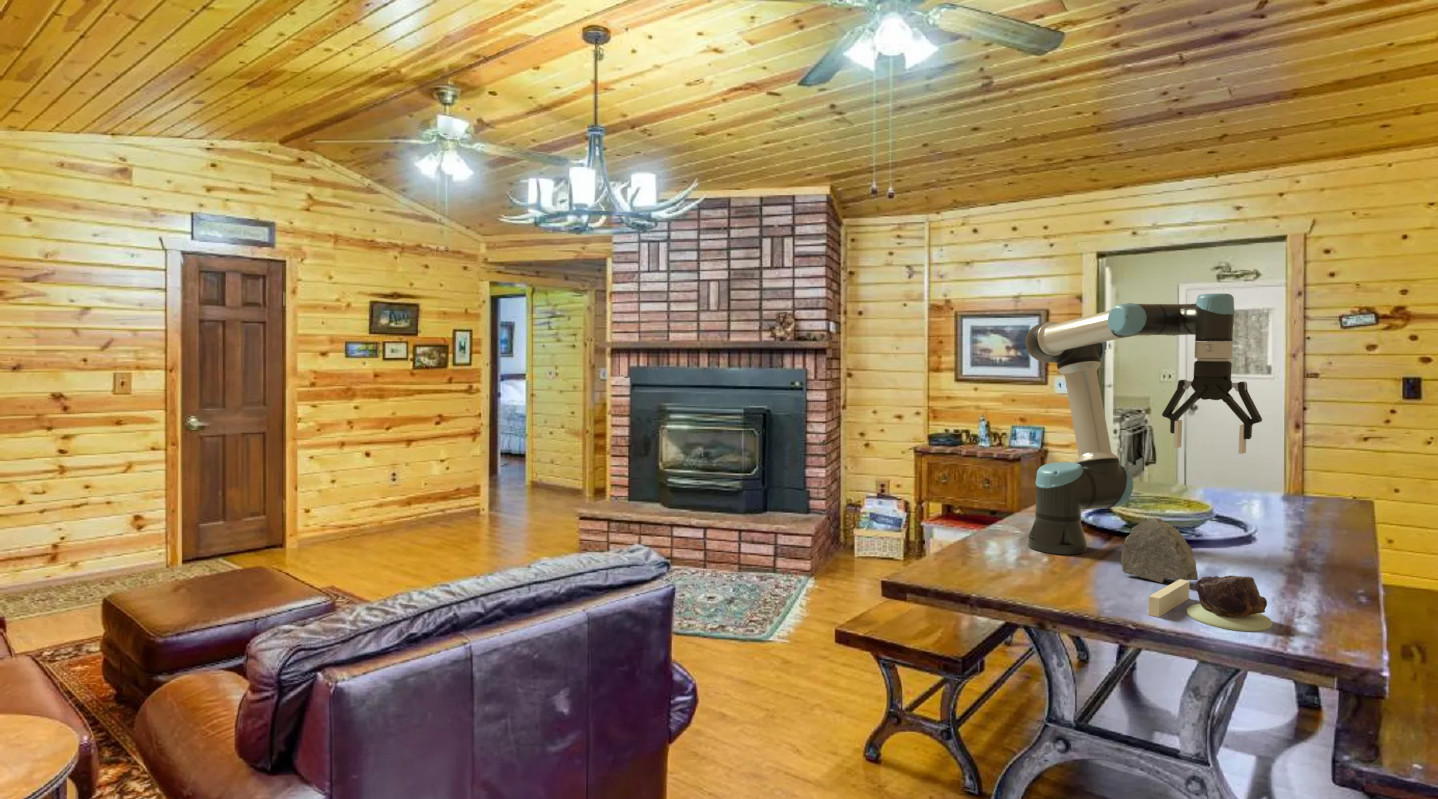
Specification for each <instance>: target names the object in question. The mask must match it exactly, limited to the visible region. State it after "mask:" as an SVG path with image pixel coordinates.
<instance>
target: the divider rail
mask: <svg viewBox="0 0 1438 799" xmlns="http://www.w3.org/2000/svg"><path fill="white" fill-rule="evenodd" d="M1190 582H1191V580H1182V579H1179V580H1177V579H1176V580H1175V581H1174V582H1172V583H1171V584H1168V585H1166V586H1165V587H1163V588H1161V589H1160V590H1158V591H1156V592H1154V593H1152V594H1151V595H1149V596H1148V612H1147V613H1148V616H1151V617H1156V618H1160V617H1161V616H1163V615H1164V614H1166V613H1167V612H1170V611H1172V610H1173V609H1174V608H1176V607H1178V606H1179V605H1181V604H1182V603H1184V602H1186V601H1187V600H1189V599H1190Z"/></svg>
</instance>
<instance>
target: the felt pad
mask: <svg viewBox="0 0 1438 799" xmlns="http://www.w3.org/2000/svg"><path fill="white" fill-rule="evenodd" d="M1186 614H1187V616H1188V617H1190V618H1191V619H1193V620H1195V621H1196V622H1199V623H1201V624H1205V625H1208V626H1211V627H1215V628H1218V629H1224V630H1229V631H1230V630H1231V631H1238V632H1264V631H1267V630H1269V629H1271V628H1272V627H1273V621H1272V619H1271V618H1270V617H1268V616H1266V615H1265V614H1264V613H1257V614H1251V615H1248V616H1246V617H1244V616H1241V617H1226V616H1221V615H1217V614H1216V613H1214V612H1213V611H1212V610H1208V609H1204V608H1203V607H1202V606H1201V604H1200V603H1197V604H1196V603H1195V604H1192V605H1189V606H1188V607H1187V608H1186Z"/></svg>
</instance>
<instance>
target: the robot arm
mask: <svg viewBox="0 0 1438 799" xmlns="http://www.w3.org/2000/svg"><path fill="white" fill-rule="evenodd" d="M1235 313H1236V310H1235V299H1234V296H1233V294H1231V293H1203V294H1199V295H1197V297H1196V302H1195V303H1133V302H1129V303H1120V304H1116V305H1114V306H1113V308H1112V309H1109V310H1105V311H1102V312H1099V313H1098V312H1097V313H1094V314H1090V315H1086V316H1082V317H1078V318H1073V319H1070V320H1066V321H1063V322H1056V321H1047V322H1042V323H1039V324H1036V325H1034V326H1032V328H1030V330H1029V331H1028V332H1027V333H1026V334H1027V335H1026V337H1025V342H1024V343H1025V347H1026V350H1027V353H1028V354H1029V355H1030V357H1032V358H1033V359H1035V360H1037V361H1038V362H1043V363H1049V364H1050V363H1052V364H1053V363H1055V364H1056V367H1057V372H1058V373H1059V374H1061V375H1063V376H1064V381H1065V386H1066V391H1067V398H1068V404H1069V409H1070V414H1071V420H1072V426H1073V431H1074V438H1075V443H1076V449H1077V455H1078V457H1077V458H1076V460H1075V461H1074V462H1070V461H1063V462H1058V461H1057V462H1050V463H1046V464H1043V465H1041V466H1040V467H1039V468H1038V469H1037V471H1036V476H1035V477H1036V479H1035V518H1034V521H1033V523H1032V525H1031V529H1030V532H1029V534H1028V537H1027V547H1028V548H1030V549H1032V550H1035V551H1039V552H1042V553H1045V554H1046V553H1048V554H1053V555H1054V554H1055V555H1080V554H1084V553H1086V552H1087V551H1088V550H1087V549H1088V541H1087V539H1086V535H1085V532H1084V530H1083V525H1082V523H1081V520H1082V519H1081V518H1082V517H1081V515H1082V510H1093V509H1097V510H1099V509H1105V510H1106V509H1111V508H1118V507H1119V508H1120V507H1121V506H1123V505H1125V504H1126V503H1127V502H1128V501H1129V500H1130V497H1131V496H1132V494H1133V492H1134V491H1133V490H1134V478H1133V475H1132V473H1131V471H1129V469H1128V468H1127V467H1125V466H1123V465H1122V464H1121V463H1120V458H1119V456H1118V455H1115V454H1114V452H1112V448H1111V442H1110V436H1109V432H1108V431H1109V430H1108V426H1107V421H1106V414H1105V411H1104V406H1103V399H1102V394H1101V388H1100V383H1099V378H1098V373H1097V371H1098V370H1099V368H1100V366H1102V363H1101V360H1103V358H1104V357H1105V356H1106V350H1107V346H1108V344H1107V343H1108V342H1109V341H1114V340H1120V339H1124V338H1129V337H1135V336H1150V335H1151V336H1186V335H1189V336H1191V335H1193V336H1195V337H1194V358H1195V359H1196V361H1194V362H1193V379H1192V380H1187V379H1179V380H1178V381H1177V387H1176V390H1175V391H1174V394H1172V396H1171V399H1169V402H1168V403H1167V405H1166V407H1165V408H1164V410H1163V411H1162V414H1161V416H1162V417H1163V418H1166V419H1168V420H1170V421H1169V422H1170V424H1169V425H1170V426H1169V432H1170V434H1174V435H1173V448H1174V449H1175V448H1176V449H1178V448H1182V434H1183V431H1182V430H1183V420H1182V419H1180V418H1181V417H1182V416H1183V415H1184V414H1185V413H1186V412H1187V411H1188V410H1189V409H1190V408H1191V407H1192V406H1193V405H1194V404H1195V403H1197V401H1199V400H1200V399H1201V400H1203V401H1204V400H1206V401H1208V400H1211V401H1220V400H1222V402H1223V403H1225V404H1226V406H1228V408H1230V410H1231V411H1232V412H1233V413H1234V414H1235V416H1236V417H1237V418H1238V419H1239V420H1240V421H1241V422H1242V424H1240V425H1239V434H1238V437H1239V438H1238V454H1240V455H1241V454H1242V455H1243V454H1246V453H1247V440H1251V439H1252V436H1253V425H1254V424H1258V423H1262V421H1263V418H1262V416H1261V414H1260V412H1259V410H1258V408H1257V407H1256V405H1255V402H1254V401H1253V399H1252V397H1251V394H1250V393H1249V391H1248V383H1247V382H1246V381H1239V382H1232V364H1233V363H1232V362H1231V361H1230V360H1231V359H1232V358H1233V342H1234V341H1233V336H1234V335H1233V333H1234V319H1235ZM1190 387H1191V388H1192V390H1193V391H1194V392H1193V393H1192V394H1191V395H1190V396H1189V398H1188V399H1187V400H1185V401H1184V403H1183V404H1182V405H1181V406H1179V407H1178V409H1176V407H1177V406H1178V404H1179V402H1180V401H1181V399H1182V398H1183V396H1184V394H1185V392H1186V390H1188V389H1189V388H1190ZM1232 389H1234V390H1235V391H1236V392H1238V395H1239V397H1240V399H1241V401H1242V403H1243V405H1244V406H1245V408H1246V410H1247V413H1248V414H1247V413H1246V412H1245V411H1244V410H1243V408H1242V406H1240V405H1239V403H1237V401H1236V400H1235V399H1234V397H1233V396H1232V395H1231V394H1230V393H1229V392H1230V391H1231V390H1232ZM1175 409H1176V410H1175ZM1174 410H1175V411H1174Z"/></svg>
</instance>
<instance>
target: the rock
mask: <svg viewBox="0 0 1438 799" xmlns="http://www.w3.org/2000/svg"><path fill="white" fill-rule="evenodd" d="M1193 586H1194V588H1195V590H1196V592H1197V594H1198V595H1197V596H1198V600H1199V604H1201V606H1202V607H1203V608H1204V609H1208V610H1212V611H1213V612H1214V613H1216V614H1217V615H1221V616H1226V617H1241V616H1244V617H1246V616H1248V615H1251V614H1257V613H1260V614H1264V613H1265V612H1266V608H1267V606H1268V600H1267V598H1266V597H1264V596H1262V595H1260V591H1259V589H1258V586H1257V585H1256V582H1255V579H1254V577H1252V576H1241V575H1239V576H1237V575H1234V574H1233V575H1226V576H1225V575H1224V576H1218V575H1215V576H1204V577H1201V578H1199V579H1198V580H1196V582H1195V584H1194V585H1193Z"/></svg>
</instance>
